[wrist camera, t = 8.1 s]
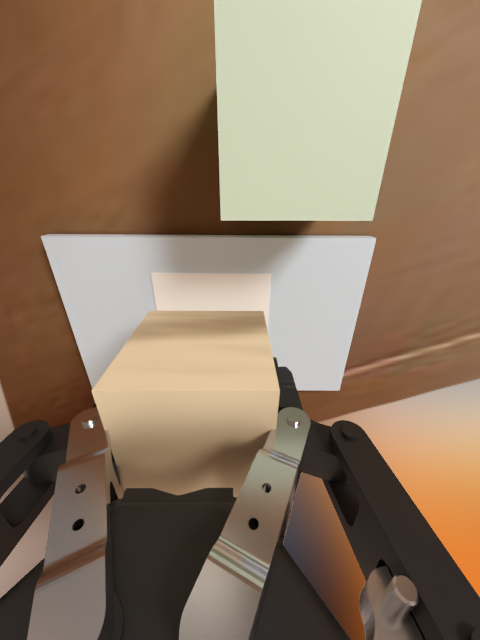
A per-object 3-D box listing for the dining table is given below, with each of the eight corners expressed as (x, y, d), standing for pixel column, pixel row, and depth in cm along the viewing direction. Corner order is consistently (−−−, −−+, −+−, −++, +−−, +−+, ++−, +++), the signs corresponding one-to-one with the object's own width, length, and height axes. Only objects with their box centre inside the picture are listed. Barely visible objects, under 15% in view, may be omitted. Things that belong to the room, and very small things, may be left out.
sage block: (224, 77, 13) (213, -3, 7) (345, 77, 13) (421, -1, 7) (226, 209, 15) (220, 220, 10) (326, 209, 15) (372, 220, 10)
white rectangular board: (49, 234, 16) (39, 236, 15) (370, 235, 16) (377, 238, 15) (97, 383, 21) (92, 391, 21) (336, 383, 22) (339, 391, 21)
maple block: (149, 310, 13) (91, 390, 8) (263, 310, 14) (280, 390, 8) (163, 396, 16) (127, 498, 11) (258, 396, 16) (269, 498, 11)
